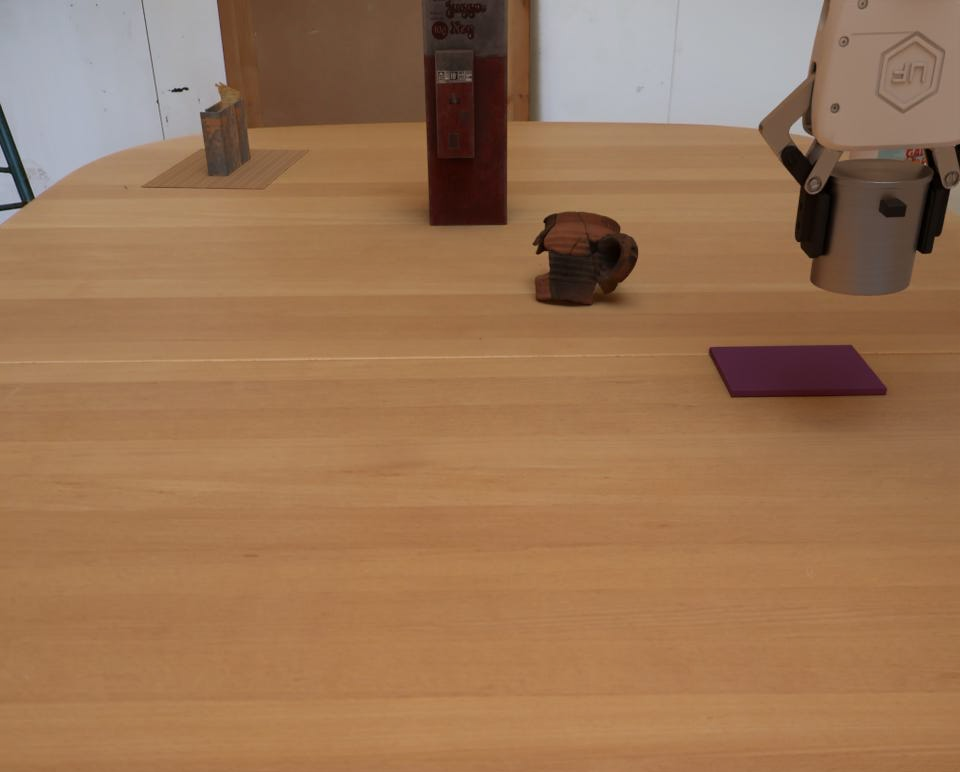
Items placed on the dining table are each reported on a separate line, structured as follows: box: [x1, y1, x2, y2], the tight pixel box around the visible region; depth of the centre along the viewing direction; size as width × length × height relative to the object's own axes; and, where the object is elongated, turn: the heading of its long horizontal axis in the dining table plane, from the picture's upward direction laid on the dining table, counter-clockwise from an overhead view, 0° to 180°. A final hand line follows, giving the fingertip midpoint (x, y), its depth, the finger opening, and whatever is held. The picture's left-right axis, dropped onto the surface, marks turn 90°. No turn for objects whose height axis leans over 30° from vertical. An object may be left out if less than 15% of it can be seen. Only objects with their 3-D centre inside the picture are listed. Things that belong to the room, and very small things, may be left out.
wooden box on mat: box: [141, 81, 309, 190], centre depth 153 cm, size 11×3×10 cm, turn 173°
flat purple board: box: [708, 344, 888, 398], centre depth 91 cm, size 12×10×1 cm
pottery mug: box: [532, 210, 639, 306], centre depth 107 cm, size 12×10×8 cm
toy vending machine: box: [421, 0, 509, 226], centre depth 124 cm, size 9×11×28 cm
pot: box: [809, 158, 934, 297], centre depth 75 cm, size 7×10×7 cm
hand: (864, 248), depth 76 cm, fingers closed on pot, 6 cm apart
